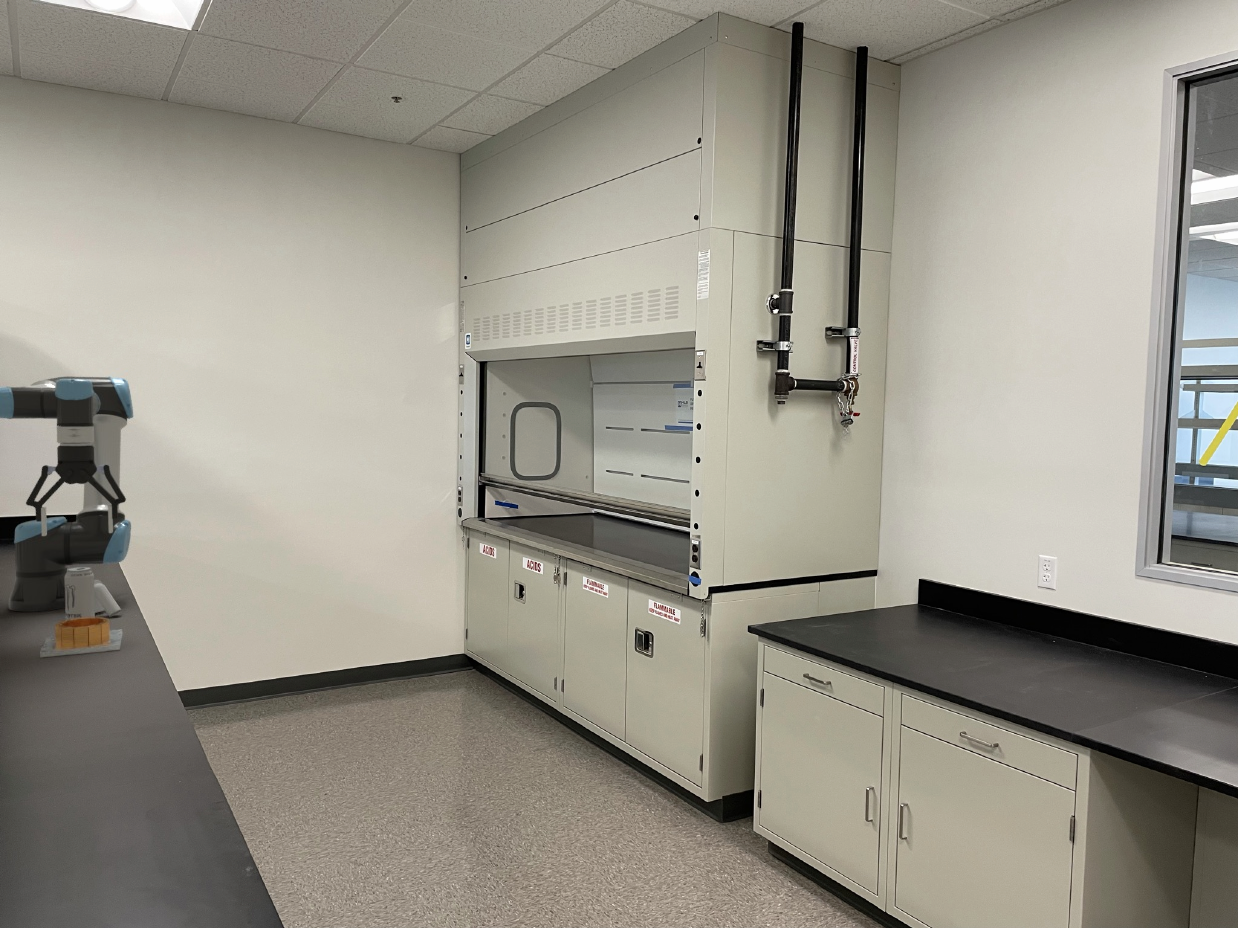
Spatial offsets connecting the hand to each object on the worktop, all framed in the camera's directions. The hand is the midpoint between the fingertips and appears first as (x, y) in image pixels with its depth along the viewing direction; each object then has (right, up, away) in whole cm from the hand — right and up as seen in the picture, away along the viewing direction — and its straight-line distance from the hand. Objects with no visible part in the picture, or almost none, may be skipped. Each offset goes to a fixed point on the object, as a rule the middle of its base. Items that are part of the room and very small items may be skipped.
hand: (78, 533), depth 216 cm
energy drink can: (0, -24, +2) cm, 24 cm away
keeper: (+8, -24, -11) cm, 28 cm away
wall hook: (-5, -23, +17) cm, 29 cm away
